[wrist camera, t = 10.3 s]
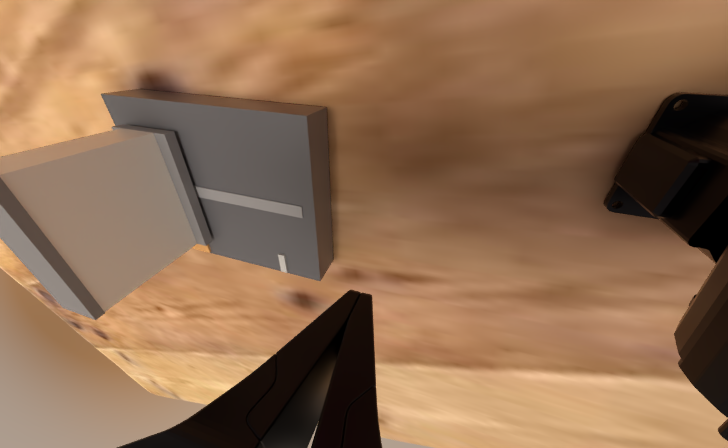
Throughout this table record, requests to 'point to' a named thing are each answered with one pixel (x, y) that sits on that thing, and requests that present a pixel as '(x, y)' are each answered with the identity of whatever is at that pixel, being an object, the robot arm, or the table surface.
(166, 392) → the table surface
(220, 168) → the fader console
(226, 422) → the robot arm
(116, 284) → the fader knob
